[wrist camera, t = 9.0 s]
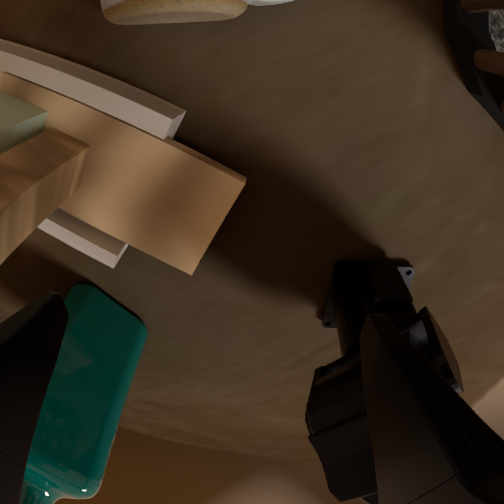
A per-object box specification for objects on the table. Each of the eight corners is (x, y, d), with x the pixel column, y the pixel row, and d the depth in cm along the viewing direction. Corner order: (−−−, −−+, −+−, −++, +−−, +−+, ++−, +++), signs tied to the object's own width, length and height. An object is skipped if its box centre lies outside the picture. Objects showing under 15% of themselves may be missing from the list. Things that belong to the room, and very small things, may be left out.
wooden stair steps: (246, 177, 19) (215, 349, 8) (194, 266, 23) (146, 432, 12) (11, 70, 15) (-138, 127, 4) (-6, 162, 18) (-120, 251, 8)
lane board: (186, 110, 18) (172, 119, 15) (128, 244, 23) (113, 268, 21) (-33, 30, 12) (-58, 34, 10) (-53, 143, 18) (-74, 155, 16)
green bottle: (157, 328, 28) (92, 566, 10) (117, 359, 32) (59, 545, 13) (70, 263, 25) (-55, 494, 6) (44, 307, 28) (-47, 488, 10)
